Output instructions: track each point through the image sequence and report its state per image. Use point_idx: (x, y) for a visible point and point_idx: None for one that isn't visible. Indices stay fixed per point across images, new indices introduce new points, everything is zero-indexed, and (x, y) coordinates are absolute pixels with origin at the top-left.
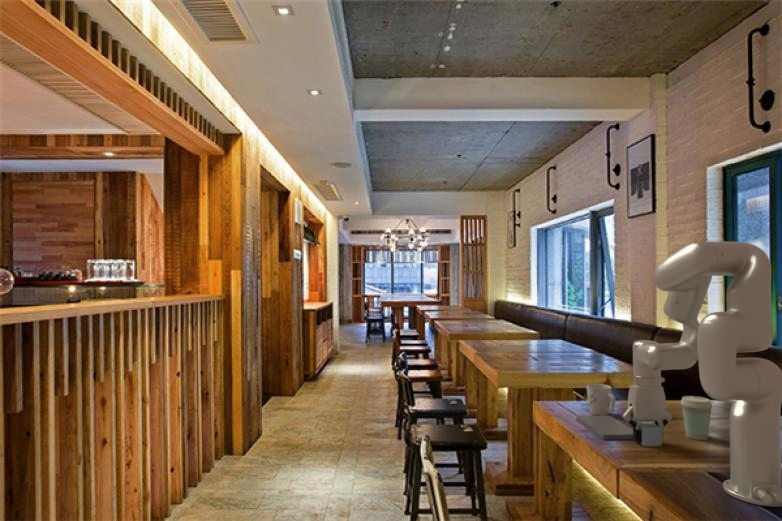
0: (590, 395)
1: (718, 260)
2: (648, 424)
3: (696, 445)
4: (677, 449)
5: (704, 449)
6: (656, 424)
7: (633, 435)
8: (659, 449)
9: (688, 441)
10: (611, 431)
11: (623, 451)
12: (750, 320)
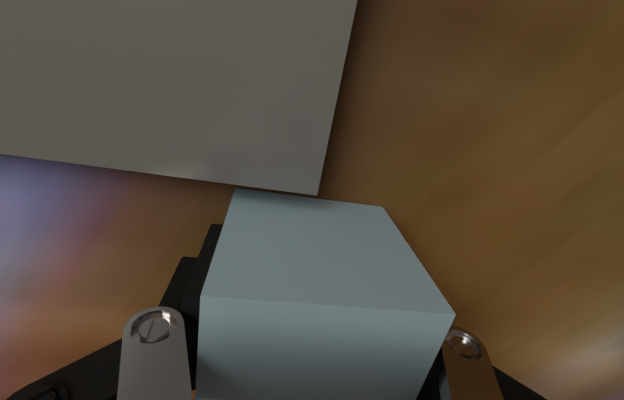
0: None
1: None
2: (331, 386)
3: (554, 326)
4: None
5: (526, 373)
6: (439, 370)
7: (177, 271)
8: None
9: (589, 269)
10: (16, 34)
11: (23, 359)
12: None
